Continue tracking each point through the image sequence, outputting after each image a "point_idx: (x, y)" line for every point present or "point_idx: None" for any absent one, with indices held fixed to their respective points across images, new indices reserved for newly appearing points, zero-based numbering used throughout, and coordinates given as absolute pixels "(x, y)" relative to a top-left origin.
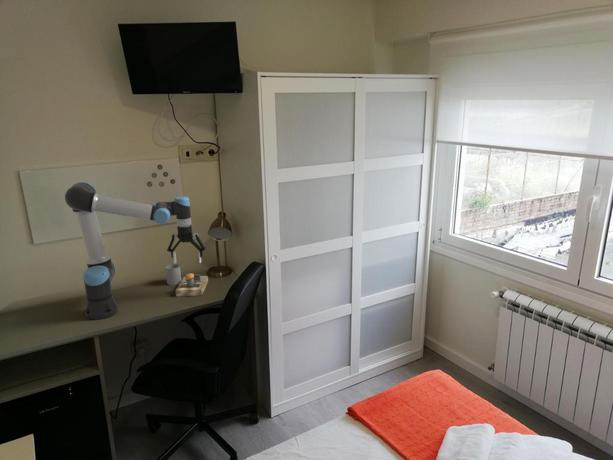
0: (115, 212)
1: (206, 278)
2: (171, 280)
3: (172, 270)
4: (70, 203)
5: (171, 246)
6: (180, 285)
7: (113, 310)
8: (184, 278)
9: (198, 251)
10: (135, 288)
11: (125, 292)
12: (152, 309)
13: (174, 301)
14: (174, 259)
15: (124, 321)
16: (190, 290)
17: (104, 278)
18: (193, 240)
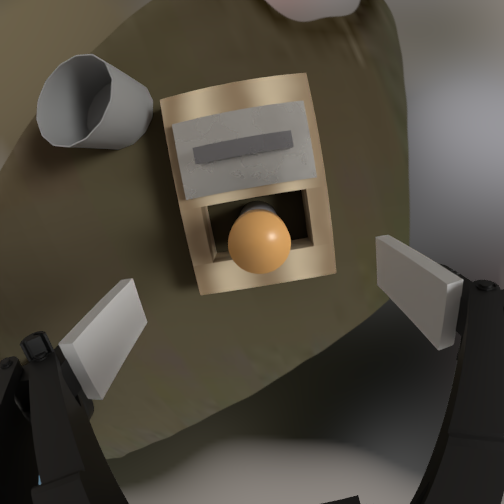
0: None
1: (313, 110)
2: (110, 147)
3: (90, 141)
4: None
5: (19, 416)
6: (196, 227)
7: (88, 413)
8: (182, 142)
9: (442, 329)
10: (13, 214)
11: (8, 253)
12: (176, 386)
13: (223, 329)
14: (128, 347)
15: (147, 435)
16: (279, 281)
17: (40, 484)
18: (489, 469)
